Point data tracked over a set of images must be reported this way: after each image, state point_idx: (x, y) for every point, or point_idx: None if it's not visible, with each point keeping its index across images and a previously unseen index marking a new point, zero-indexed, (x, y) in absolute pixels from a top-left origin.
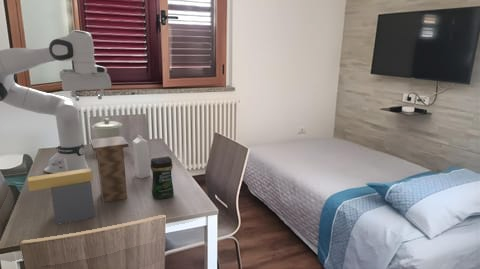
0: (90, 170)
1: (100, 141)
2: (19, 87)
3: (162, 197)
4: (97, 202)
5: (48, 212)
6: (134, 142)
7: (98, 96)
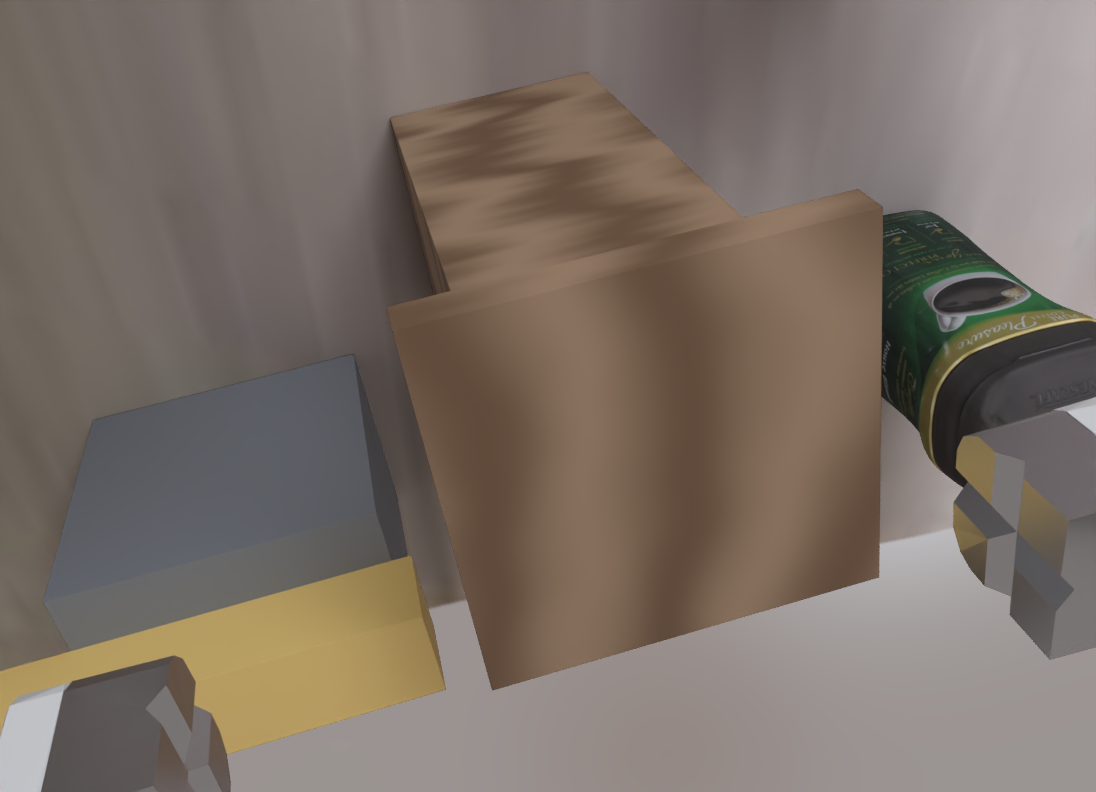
0: (431, 671)
1: (559, 451)
2: None
3: None
4: (382, 287)
5: (19, 387)
6: None
7: (1032, 631)
